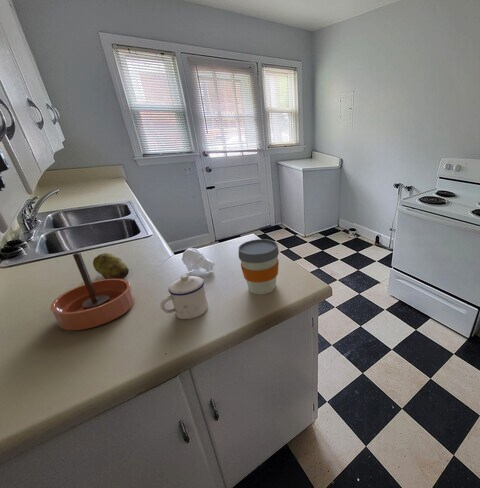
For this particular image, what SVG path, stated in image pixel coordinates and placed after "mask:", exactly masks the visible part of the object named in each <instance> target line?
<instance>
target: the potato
mask: <svg viewBox="0 0 480 488" xmlns="http://www.w3.org/2000/svg"><path fill="white" fill-rule="evenodd" d="M92 264H93V265H92V266H93V268H94V270H95V271H96V273H98V274H100V275H101V276H102V277H103V278H104V279H124V278H126V277H127V276H128V275H129V273H130V269H129V267H128V266H127V265H126V263H125V262H124V261H123V260H122V259H121V258H120V257H118V256H115V255H114V254H112V253H109V252H108V253H106V252H105V253H100V254H98V255H97V256H95V257H94V259H92Z"/></svg>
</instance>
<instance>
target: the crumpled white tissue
mask: <svg viewBox="0 0 480 488" xmlns="http://www.w3.org/2000/svg"><path fill="white" fill-rule="evenodd" d="M181 262H182V263H183V265H184V266H185V267H186V269H187V271H188V272H189V271H192V270H196V269H203V270H204V272H205V273H207V272H208V273H211V272H210V271H212V272H213V271H214V270H215V269H216V263H215V262H214V261H212V260H210V259H208V257H207V256H206V255H204V253H202V252H201V250H198V249H197V248H194V247H188V248H186V249H185V250H184V251H183V253H182V256H181ZM192 272H193V271H192Z"/></svg>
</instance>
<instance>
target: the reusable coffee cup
mask: <svg viewBox="0 0 480 488" xmlns="http://www.w3.org/2000/svg"><path fill="white" fill-rule="evenodd" d="M279 254H280V251H279V247H278V243H277V242H276V241H275V240H272V239H267V238H265V239H264V238H259V239H258V238H257V239H252V240H251V239H250V240H248V241H245V242H243V243H241V244H240V245H239V246H238V259H239V260H240V269H241V272H242V275H243V278H244V279H245V280H246V283H247V287H248V290H249V292H250V293H251V294H253V295H265V294H269V293H271V292H273V291H274V290H275V289H276V288H277V276H278V275H279V264H280V263H279V261H280V260H279V258H278V256H279Z"/></svg>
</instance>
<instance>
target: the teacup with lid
mask: <svg viewBox="0 0 480 488" xmlns="http://www.w3.org/2000/svg"><path fill="white" fill-rule="evenodd" d="M168 293H169V296H167V297H165V298H163V299H162V300H161V301H160V309H161V310H162V312H164V313H166V314H174V313H175V315H176V317H177V318H179V319H181V320H191V319H196V318H197V317H201V316H202V315H203V314H204V313H205V312H207V310H208V309H209V303H208V299H207V294H206V288H205V280H204V279H203V278H202V277H200V276H196V275H188V274H182V275H181V276H180V278H178V279H176V280H174V281H173V282H171V283H170V285H169V286H168ZM170 300H171V301H172V305H173V308H170V309H166V308H165V305H166V303H167V302H168V301H170Z"/></svg>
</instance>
